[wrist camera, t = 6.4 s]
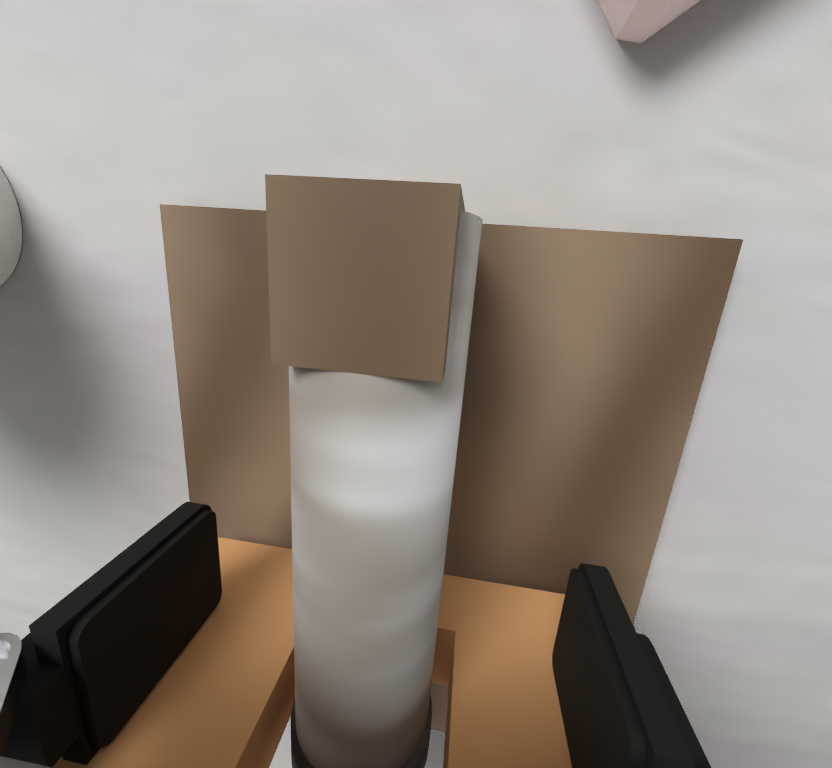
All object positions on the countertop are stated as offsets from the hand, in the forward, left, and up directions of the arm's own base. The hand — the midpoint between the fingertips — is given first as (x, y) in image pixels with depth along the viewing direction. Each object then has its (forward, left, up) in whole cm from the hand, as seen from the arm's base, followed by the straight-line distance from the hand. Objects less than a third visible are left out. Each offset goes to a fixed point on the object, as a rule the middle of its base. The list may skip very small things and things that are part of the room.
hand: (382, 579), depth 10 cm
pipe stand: (0, 0, -4) cm, 4 cm away
